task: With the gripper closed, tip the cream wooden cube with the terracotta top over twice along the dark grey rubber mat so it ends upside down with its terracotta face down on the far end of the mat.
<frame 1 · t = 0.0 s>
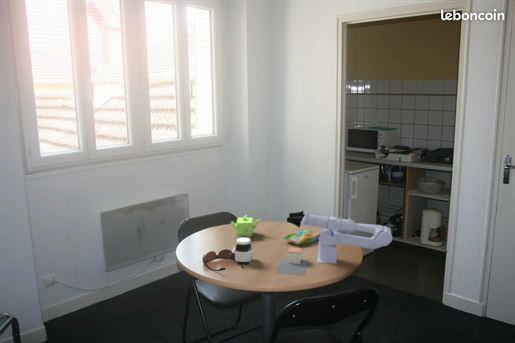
hand: (288, 217, 223), 22 cm above the table, tool horizontal, fingers open, 7 cm apart
spread jar: (241, 260, 224), on the table
colorful snack bag: (302, 242, 251), on the table
kettle: (246, 235, 262), on the table
mat: (292, 266, 216), on the table
cube: (294, 261, 221), resting on mat
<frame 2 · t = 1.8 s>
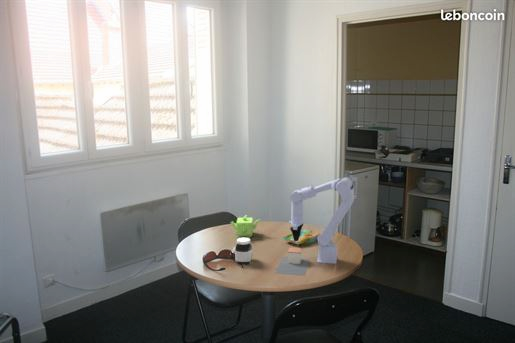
hand: (296, 239, 227), 9 cm above the table, tool pointing down, fingers open, 5 cm apart
nothing on the table moved.
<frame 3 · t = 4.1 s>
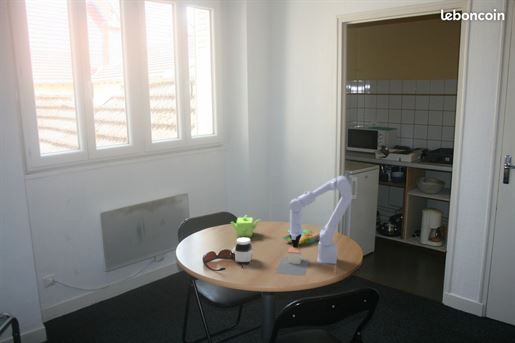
hand: (295, 248, 223), 6 cm above the table, tool pointing down, fingers closed, pressing on cube
cube: (294, 261, 221), point 1 cm above the table, touching gripper, mat
everything else where it was.
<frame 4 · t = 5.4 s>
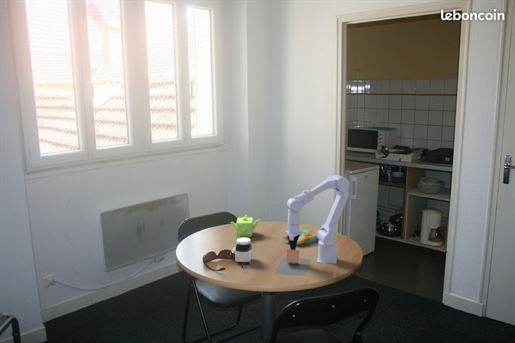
hand: (293, 249, 217), 8 cm above the table, tool pointing down, fingers closed
cube: (294, 257, 219), point 3 cm above the table, tilted 62°, touching gripper, mat
everything else where it was.
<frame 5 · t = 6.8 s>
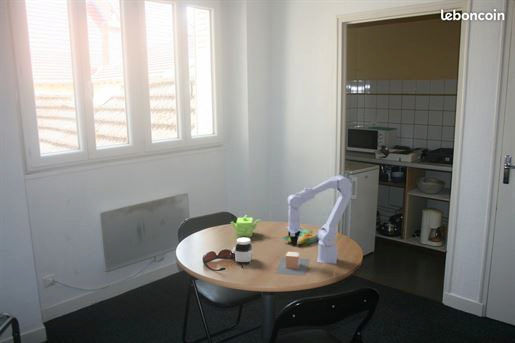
hand: (294, 245, 218), 9 cm above the table, tool pointing down, fingers closed
cube: (293, 257, 218), point 3 cm above the table, tilted 90°, touching mat
everything else where it was.
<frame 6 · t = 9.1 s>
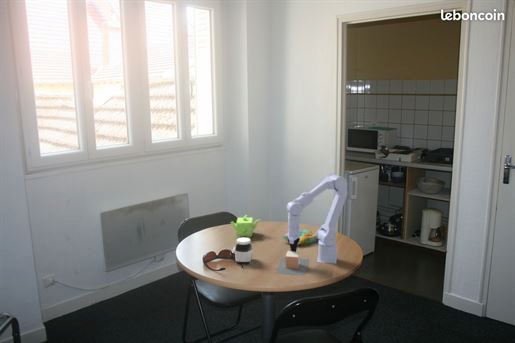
hand: (293, 252, 217), 6 cm above the table, tool pointing down, fingers closed, pressing on cube
cube: (293, 256, 217), point 4 cm above the table, tilted 96°, touching gripper, mat
everything else where it was.
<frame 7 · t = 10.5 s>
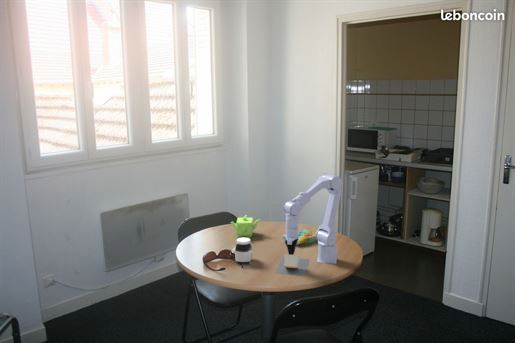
hand: (291, 254, 211), 8 cm above the table, tool pointing down, fingers closed
cube: (292, 255, 211), point 7 cm above the table, tilted 154°, touching gripper, mat
everything else where it was.
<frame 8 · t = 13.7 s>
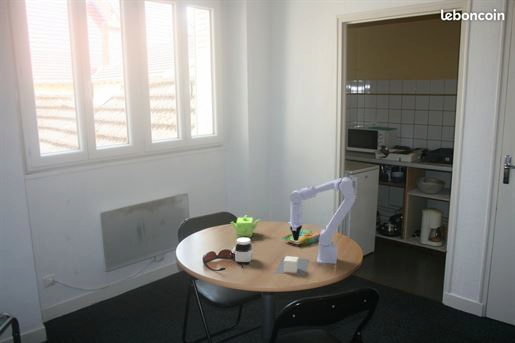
hand: (296, 240, 224), 10 cm above the table, tool pointing down, fingers closed
cube: (291, 258, 209), point 6 cm above the table, tilted 180°, touching mat
everything else where it was.
at the end: cube tilted 180°; cube inside the target area (0.5 cm from its centre), point 6.5 cm above the table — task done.
